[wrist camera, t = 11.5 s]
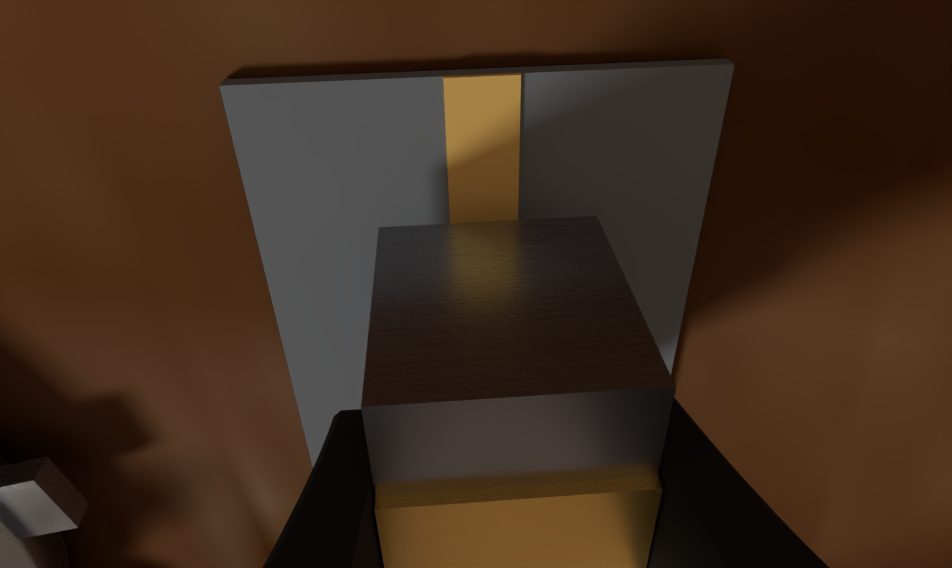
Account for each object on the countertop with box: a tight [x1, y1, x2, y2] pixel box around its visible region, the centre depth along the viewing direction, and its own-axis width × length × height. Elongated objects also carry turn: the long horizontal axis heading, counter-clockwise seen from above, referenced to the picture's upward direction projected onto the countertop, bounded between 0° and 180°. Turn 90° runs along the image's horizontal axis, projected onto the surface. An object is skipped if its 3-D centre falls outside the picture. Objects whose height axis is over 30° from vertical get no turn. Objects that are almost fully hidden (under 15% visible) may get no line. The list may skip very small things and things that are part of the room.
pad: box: [219, 58, 735, 467], centre depth 13 cm, size 9×8×1 cm
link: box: [361, 216, 676, 568], centre depth 10 cm, size 5×4×4 cm
